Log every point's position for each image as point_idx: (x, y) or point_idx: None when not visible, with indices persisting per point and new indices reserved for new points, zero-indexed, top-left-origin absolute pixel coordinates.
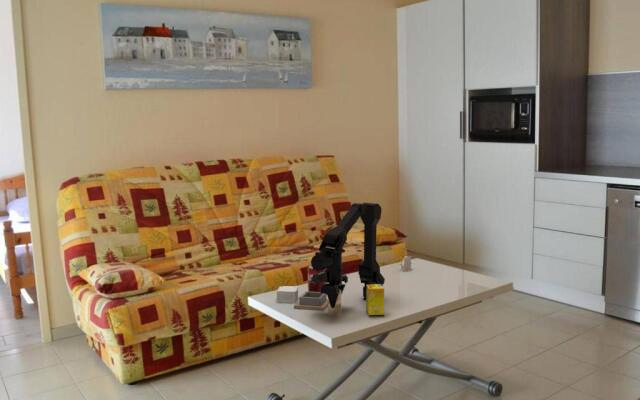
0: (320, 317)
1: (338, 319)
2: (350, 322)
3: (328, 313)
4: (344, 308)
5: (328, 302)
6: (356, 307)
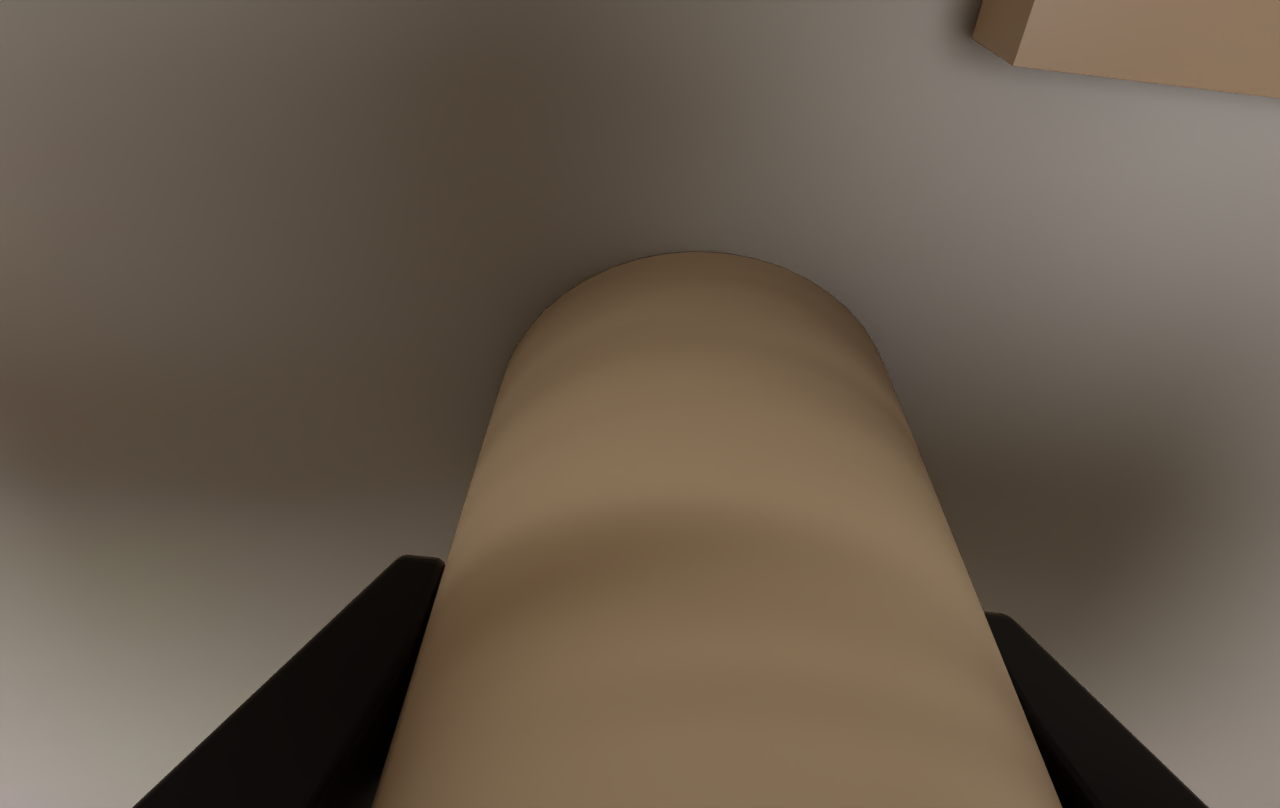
0: (189, 54)
1: (240, 561)
2: (160, 757)
3: (591, 289)
4: (1163, 601)
5: (524, 573)
6: (1190, 788)
